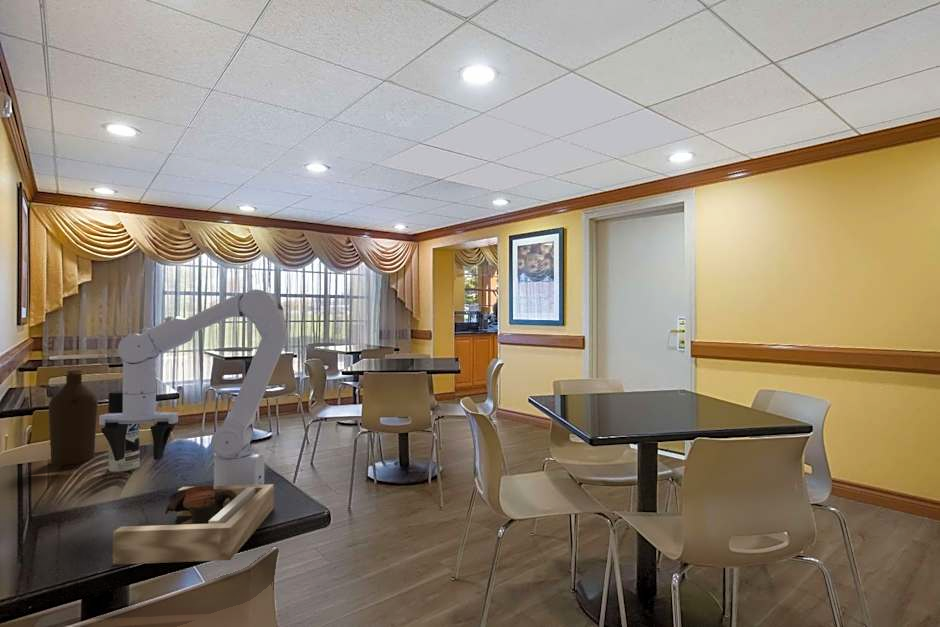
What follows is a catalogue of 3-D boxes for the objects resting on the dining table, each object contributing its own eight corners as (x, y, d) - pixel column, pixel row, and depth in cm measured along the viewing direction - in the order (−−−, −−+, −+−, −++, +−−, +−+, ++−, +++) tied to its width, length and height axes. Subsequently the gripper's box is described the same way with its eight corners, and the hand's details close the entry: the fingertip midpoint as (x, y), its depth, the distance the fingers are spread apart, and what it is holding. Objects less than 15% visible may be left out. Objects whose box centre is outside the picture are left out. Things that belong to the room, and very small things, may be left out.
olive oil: (106, 457, 143) (107, 368, 144) (65, 468, 133) (66, 371, 134) (80, 454, 147) (81, 367, 147) (38, 464, 137) (39, 370, 137)
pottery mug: (162, 543, 87) (157, 494, 90) (178, 547, 95) (172, 502, 98) (238, 518, 91) (230, 473, 94) (247, 524, 99) (240, 482, 102)
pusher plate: (255, 512, 99) (255, 486, 99) (218, 552, 82) (218, 520, 82) (247, 513, 99) (247, 487, 99) (208, 552, 82) (208, 520, 82)
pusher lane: (273, 509, 102) (273, 484, 102) (230, 560, 80) (230, 527, 80) (182, 512, 101) (182, 486, 101) (112, 564, 79) (113, 531, 79)
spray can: (127, 473, 128) (128, 393, 128) (101, 473, 128) (101, 393, 129) (145, 465, 135) (145, 389, 135) (119, 466, 135) (120, 389, 135)
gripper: (185, 389, 110) (185, 453, 110) (114, 390, 109) (114, 455, 109) (168, 394, 103) (168, 462, 103) (92, 395, 102) (91, 464, 102)
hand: (139, 459), depth 105 cm, fingers open, 7 cm apart
